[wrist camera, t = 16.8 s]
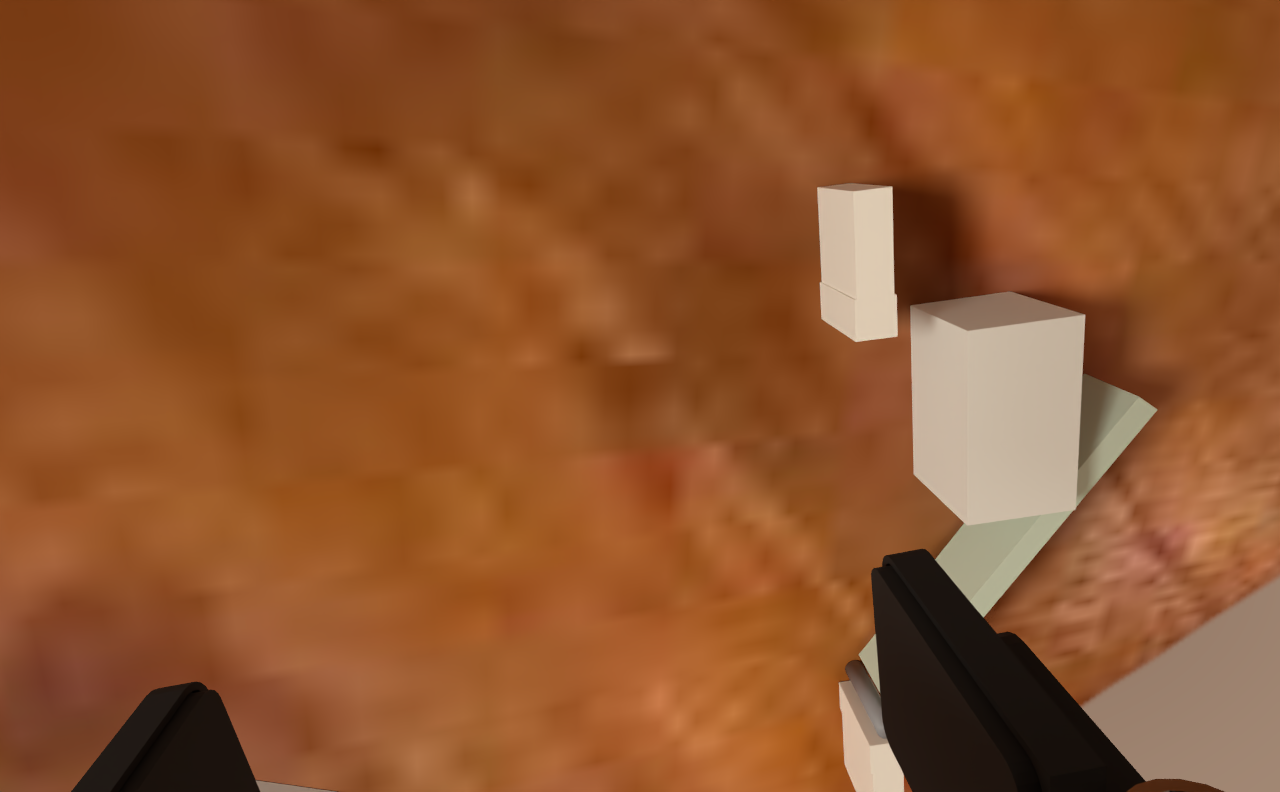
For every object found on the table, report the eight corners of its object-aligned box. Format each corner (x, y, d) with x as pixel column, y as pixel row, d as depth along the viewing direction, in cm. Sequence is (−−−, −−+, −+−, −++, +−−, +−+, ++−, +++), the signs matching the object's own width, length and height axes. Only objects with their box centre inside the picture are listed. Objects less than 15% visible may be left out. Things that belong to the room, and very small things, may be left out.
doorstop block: (909, 304, 38) (967, 331, 32) (1009, 291, 38) (1085, 314, 32) (913, 473, 40) (967, 525, 35) (1006, 460, 40) (1075, 509, 35)
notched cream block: (815, 187, 36) (850, 191, 31) (853, 182, 36) (894, 186, 31) (842, 764, 45) (872, 835, 41) (872, 760, 45) (906, 830, 41)
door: (868, 685, 44) (902, 748, 39) (840, 670, 43) (871, 732, 39) (1107, 391, 40) (1179, 422, 35) (1079, 371, 39) (1148, 400, 34)
